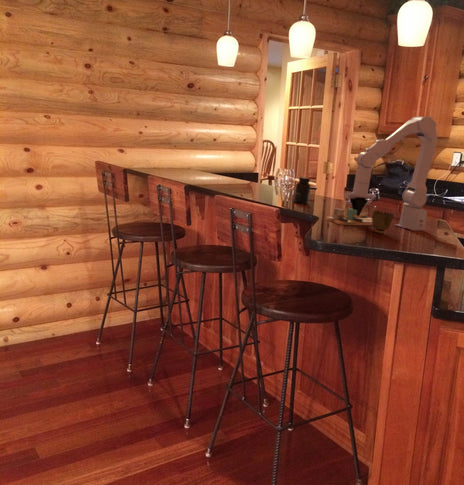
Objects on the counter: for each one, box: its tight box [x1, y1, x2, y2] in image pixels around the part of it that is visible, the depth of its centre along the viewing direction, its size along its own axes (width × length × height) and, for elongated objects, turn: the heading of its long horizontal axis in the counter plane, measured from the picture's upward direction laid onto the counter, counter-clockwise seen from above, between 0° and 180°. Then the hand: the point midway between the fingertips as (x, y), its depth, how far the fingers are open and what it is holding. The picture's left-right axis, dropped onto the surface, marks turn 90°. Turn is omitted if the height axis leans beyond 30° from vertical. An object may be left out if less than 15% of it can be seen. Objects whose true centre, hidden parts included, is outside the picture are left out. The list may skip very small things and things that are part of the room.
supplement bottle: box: [293, 176, 312, 205], centre depth 244 cm, size 7×7×12 cm
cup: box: [371, 210, 395, 236], centre depth 188 cm, size 8×7×8 cm
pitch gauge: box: [324, 207, 373, 226], centre depth 207 cm, size 10×24×5 cm, turn 122°
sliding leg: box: [345, 208, 361, 220], centre depth 204 cm, size 6×2×4 cm, turn 32°
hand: (355, 216), depth 207 cm, fingers closed
